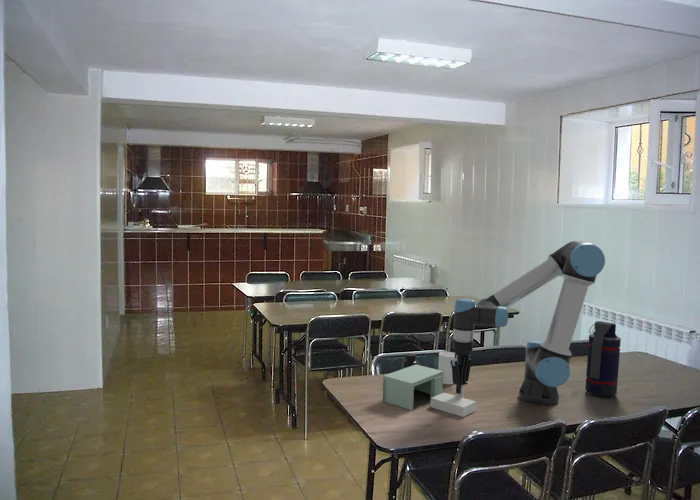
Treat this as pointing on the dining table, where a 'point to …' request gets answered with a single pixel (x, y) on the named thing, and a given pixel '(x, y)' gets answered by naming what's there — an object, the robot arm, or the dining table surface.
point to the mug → (446, 366)
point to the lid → (453, 404)
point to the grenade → (603, 360)
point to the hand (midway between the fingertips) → (459, 401)
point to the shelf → (411, 385)
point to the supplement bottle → (409, 360)
